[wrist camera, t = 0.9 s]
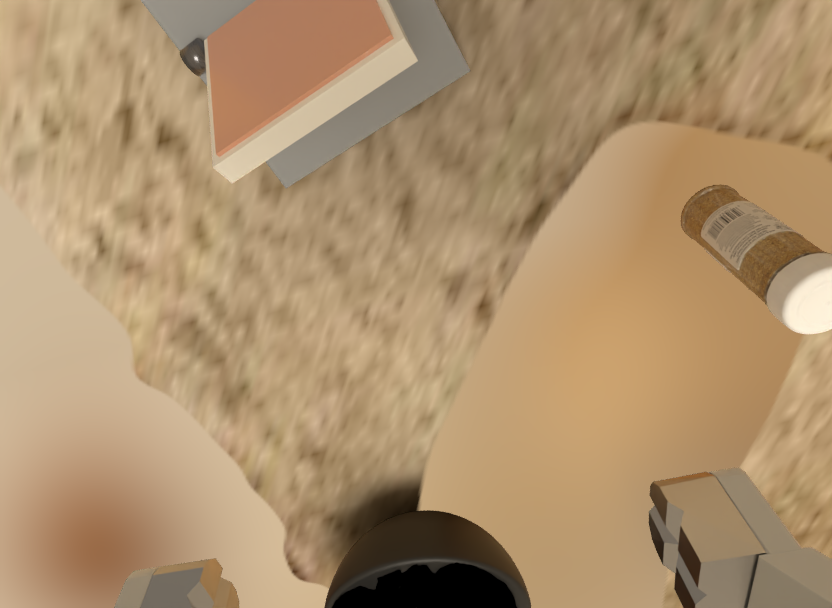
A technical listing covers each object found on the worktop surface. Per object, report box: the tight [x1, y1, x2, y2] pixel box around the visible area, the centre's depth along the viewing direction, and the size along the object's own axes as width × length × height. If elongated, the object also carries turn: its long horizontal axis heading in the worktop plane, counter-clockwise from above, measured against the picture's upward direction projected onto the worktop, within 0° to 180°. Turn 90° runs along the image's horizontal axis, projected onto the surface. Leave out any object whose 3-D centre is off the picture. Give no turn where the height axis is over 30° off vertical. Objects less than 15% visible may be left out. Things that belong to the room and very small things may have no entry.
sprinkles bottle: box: [681, 185, 832, 334], centre depth 36 cm, size 5×5×13 cm
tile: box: [204, 0, 418, 183], centre depth 27 cm, size 10×11×1 cm
